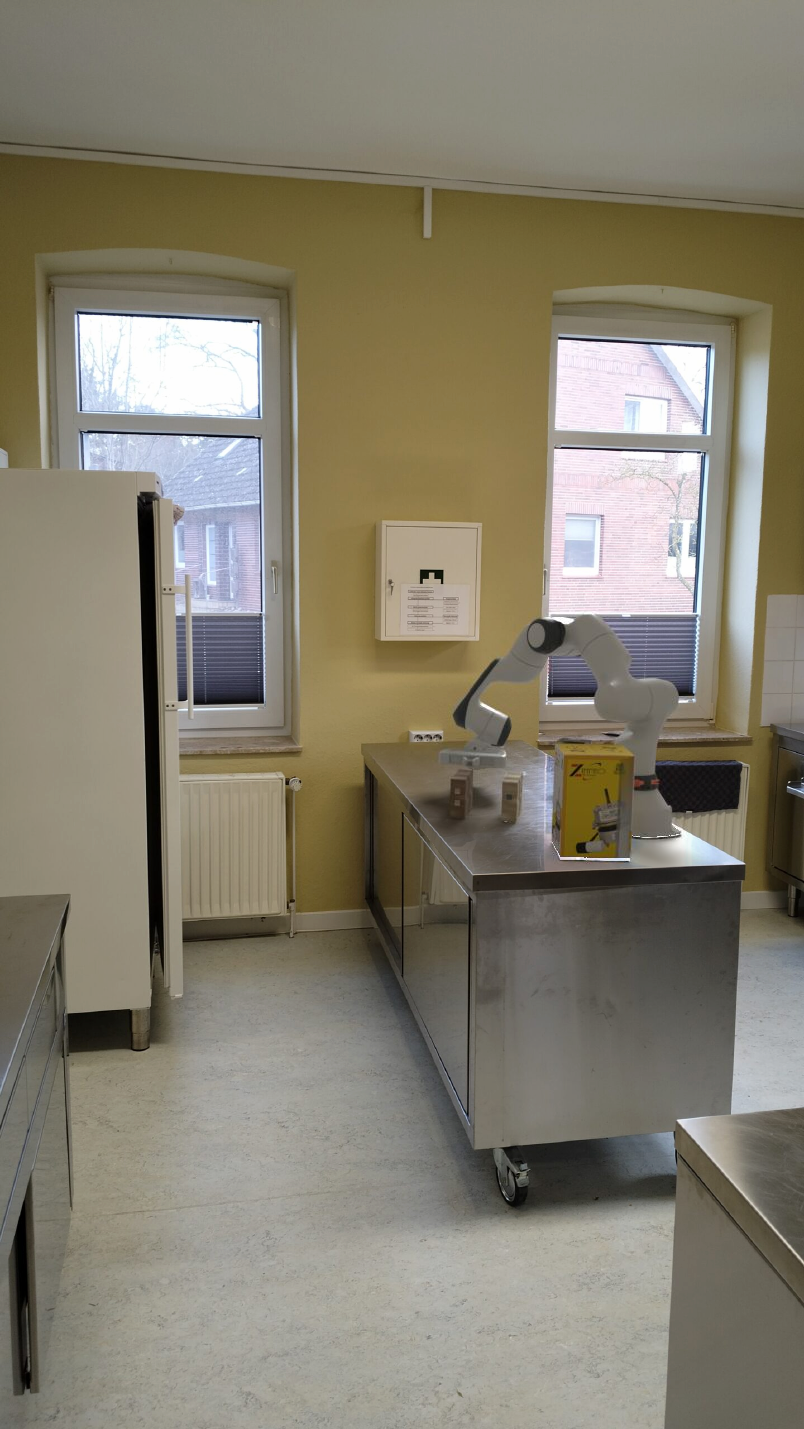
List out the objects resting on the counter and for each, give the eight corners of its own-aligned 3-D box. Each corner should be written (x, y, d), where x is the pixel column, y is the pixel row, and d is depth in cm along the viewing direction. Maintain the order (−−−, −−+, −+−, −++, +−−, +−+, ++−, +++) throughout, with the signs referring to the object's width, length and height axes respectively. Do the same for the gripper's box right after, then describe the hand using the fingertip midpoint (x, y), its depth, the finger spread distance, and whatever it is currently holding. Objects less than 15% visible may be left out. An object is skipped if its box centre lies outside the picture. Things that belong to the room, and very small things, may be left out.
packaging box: (630, 862, 234) (635, 756, 231) (560, 860, 234) (564, 754, 231) (617, 843, 250) (621, 744, 247) (551, 842, 250) (554, 743, 247)
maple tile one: (507, 810, 284) (508, 772, 283) (521, 811, 283) (522, 773, 282) (501, 822, 270) (502, 782, 269) (515, 823, 269) (517, 783, 268)
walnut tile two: (458, 807, 287) (459, 769, 286) (472, 808, 286) (473, 770, 285) (449, 819, 273) (450, 779, 272) (464, 820, 272) (465, 780, 271)
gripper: (442, 742, 307) (434, 750, 294) (509, 746, 303) (504, 754, 290) (442, 762, 308) (433, 771, 295) (508, 767, 304) (503, 776, 291)
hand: (469, 763), depth 292 cm, fingers closed
